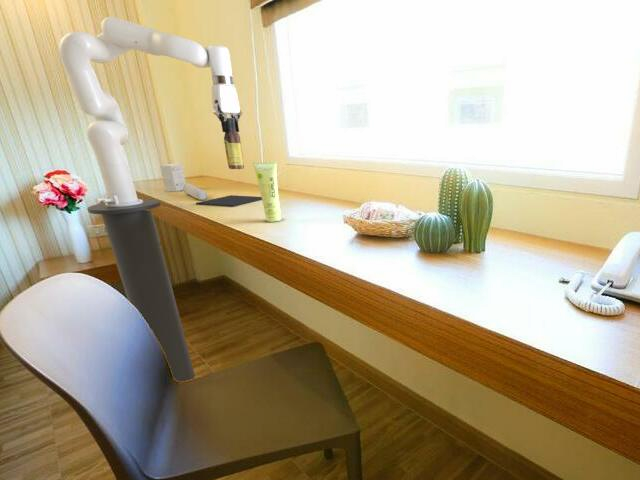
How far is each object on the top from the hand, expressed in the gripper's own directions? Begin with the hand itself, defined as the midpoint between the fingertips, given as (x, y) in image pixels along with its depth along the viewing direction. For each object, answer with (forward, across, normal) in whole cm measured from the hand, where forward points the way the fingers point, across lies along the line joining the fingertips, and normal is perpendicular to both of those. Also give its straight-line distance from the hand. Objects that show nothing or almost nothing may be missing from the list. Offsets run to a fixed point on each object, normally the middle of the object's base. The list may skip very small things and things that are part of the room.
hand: (231, 131), depth 159 cm
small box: (+29, -18, -60) cm, 69 cm away
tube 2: (+28, +26, +38) cm, 54 cm away
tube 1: (+29, -4, -30) cm, 42 cm away
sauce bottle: (+15, 0, 0) cm, 15 cm away
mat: (+29, 0, -6) cm, 29 cm away
